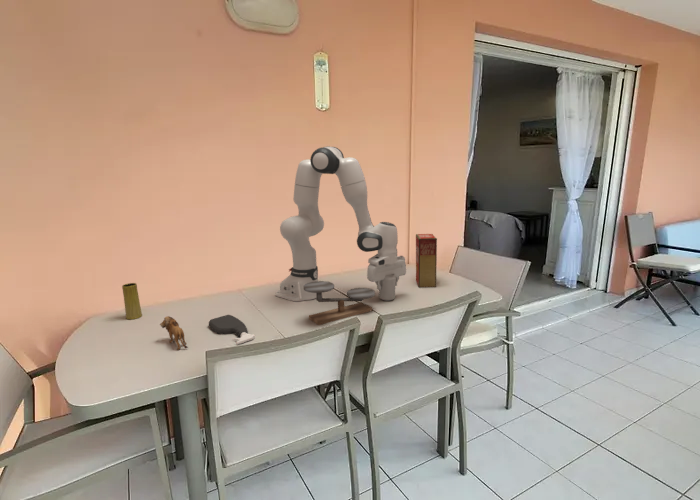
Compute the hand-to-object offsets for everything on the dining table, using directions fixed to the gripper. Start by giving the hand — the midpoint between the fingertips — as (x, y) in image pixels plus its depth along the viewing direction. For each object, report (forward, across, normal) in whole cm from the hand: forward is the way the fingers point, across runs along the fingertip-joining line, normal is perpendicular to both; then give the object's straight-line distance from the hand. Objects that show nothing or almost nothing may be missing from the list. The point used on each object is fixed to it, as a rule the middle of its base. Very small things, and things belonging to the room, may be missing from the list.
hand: (387, 287), depth 177 cm
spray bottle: (+7, +69, -7) cm, 70 cm away
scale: (+6, +27, +3) cm, 28 cm away
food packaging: (+6, -31, -6) cm, 32 cm away
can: (+6, 0, 0) cm, 6 cm away
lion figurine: (+7, +89, -9) cm, 90 cm away
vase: (+7, +99, -48) cm, 110 cm away
